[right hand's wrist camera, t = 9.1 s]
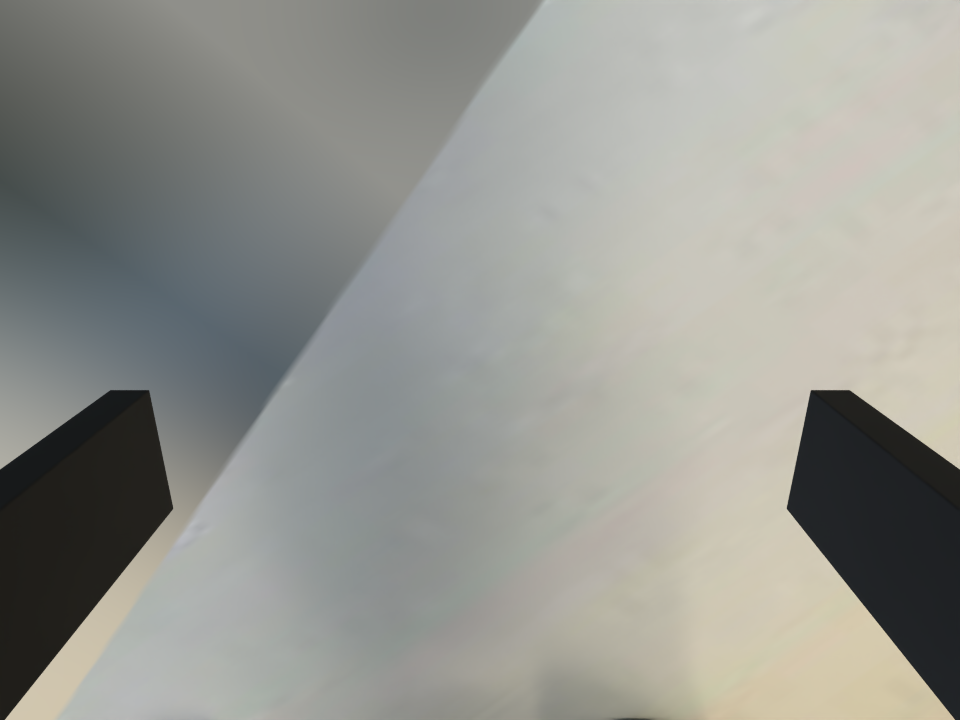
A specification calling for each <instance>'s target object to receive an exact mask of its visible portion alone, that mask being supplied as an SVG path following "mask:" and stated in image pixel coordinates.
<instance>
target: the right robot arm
mask: <svg viewBox="0 0 960 720" xmlns="http://www.w3.org/2000/svg"><path fill="white" fill-rule="evenodd" d="M172 510H173V505H172V500H171V495H170V490H169V485H168V481H167V476H166V471H165V466H164V461H163V456H162V451H161V446H160V441H159V437H158V432H157V427H156V422H155V417H154V412H153V407H152V402H151V397H150V393H149V390H110V391H109V392H107V393H106V394H105V395H103V396H102V397H100V398H99V399H98V400H96V401H95V402H94V403H92V404H91V405H89V406H88V407H87V408H85V409H84V410H82V411H81V412H80V413H78V414H77V415H75V416H74V417H73V418H71V419H70V420H68V421H67V422H66V423H64V424H63V425H62V426H60V427H59V428H57V429H56V430H55V431H53V432H52V433H50V434H49V435H48V436H46V437H45V438H43V439H42V440H41V441H39V442H38V443H37V444H35V445H34V446H32V447H31V448H30V449H28V450H27V451H25V452H24V453H23V454H21V455H20V456H18V457H17V458H16V459H14V460H13V461H11V462H10V463H9V464H7V465H6V466H5V467H3V468H2V469H0V720H5V719H6V718H7V716H8V715H9V714H10V712H11V711H12V710H13V709H14V707H15V706H16V705H17V704H18V702H19V701H20V700H21V699H22V697H23V696H24V695H25V694H26V692H27V691H28V690H29V689H30V687H31V686H32V685H33V684H34V682H35V681H36V680H37V679H38V677H39V676H40V675H41V674H42V672H43V671H44V670H45V669H46V667H47V666H48V665H49V664H50V662H51V661H52V660H53V659H54V657H55V656H56V655H57V654H58V652H59V651H60V650H61V649H62V647H63V646H64V645H65V644H66V642H67V641H68V640H69V639H70V637H71V636H72V635H73V634H74V632H75V631H76V630H77V629H78V627H79V626H80V625H81V624H82V622H83V621H84V620H85V619H86V617H87V616H88V615H89V614H90V612H91V611H92V610H93V608H94V607H95V606H96V605H97V604H98V602H99V601H100V600H101V599H102V597H103V596H104V595H105V593H106V592H107V591H108V590H109V588H110V587H111V586H112V585H113V583H114V582H115V581H116V580H117V578H118V577H119V576H120V575H121V573H122V572H123V571H124V570H125V568H126V567H127V566H128V565H129V563H130V562H131V561H132V560H133V558H134V557H135V556H136V555H137V553H138V552H139V551H140V550H141V548H142V547H143V546H144V545H145V543H146V542H147V541H148V540H149V538H150V537H151V536H152V534H153V533H154V532H155V531H156V530H157V528H158V527H159V526H160V524H161V523H162V522H163V521H164V520H165V518H166V517H167V516H168V515H169V513H170V512H171V511H172ZM787 510H788V511H789V512H790V513H791V515H792V516H793V517H794V518H795V520H796V521H797V522H798V523H799V525H800V526H801V527H802V528H803V530H804V531H805V532H806V533H807V535H808V536H809V537H810V538H811V540H812V541H813V542H814V543H815V545H816V546H817V547H818V548H819V550H820V551H821V552H822V553H823V555H824V556H825V557H826V558H827V560H828V561H829V562H830V563H831V565H832V566H833V567H834V568H835V570H836V571H837V572H838V573H839V575H840V576H841V577H842V578H843V580H844V581H845V582H846V583H847V585H848V586H849V587H850V589H851V590H852V591H853V592H854V594H855V595H856V596H857V597H858V599H859V600H860V601H861V602H862V604H863V605H864V606H865V607H866V609H867V610H868V611H869V612H870V614H871V615H872V616H873V617H874V619H875V620H876V621H877V622H878V624H879V625H880V626H881V627H882V629H883V630H884V631H885V632H886V634H887V635H888V636H889V637H890V639H891V640H892V641H893V642H894V644H895V645H896V646H897V647H898V649H899V650H900V651H901V652H902V654H903V655H904V656H905V657H906V659H907V660H908V661H909V662H910V664H911V665H912V666H913V667H914V669H915V670H916V671H917V672H918V674H919V675H920V676H921V677H922V679H923V680H924V681H925V682H926V684H927V685H928V686H929V687H930V689H931V690H932V691H933V692H934V694H935V695H936V696H937V697H938V699H939V700H940V701H941V702H942V704H943V705H944V706H945V708H946V709H947V710H948V711H949V713H950V714H951V715H952V716H953V718H954V719H955V720H960V469H958V468H957V467H955V466H954V465H953V464H951V463H950V462H949V461H947V460H946V459H944V458H943V457H942V456H940V455H939V454H937V453H936V452H935V451H933V450H932V449H930V448H929V447H928V446H926V445H925V444H923V443H922V442H921V441H919V440H918V439H917V438H915V437H914V436H912V435H911V434H910V433H908V432H907V431H905V430H904V429H903V428H901V427H900V426H898V425H897V424H896V423H894V422H893V421H892V420H890V419H889V418H887V417H886V416H885V415H883V414H882V413H880V412H879V411H878V410H876V409H875V408H873V407H872V406H871V405H869V404H868V403H867V402H865V401H864V400H862V399H861V398H860V397H858V396H857V395H855V394H854V393H853V392H851V391H850V390H811V393H810V397H809V402H808V407H807V412H806V417H805V422H804V427H803V432H802V437H801V441H800V446H799V451H798V456H797V461H796V466H795V471H794V476H793V481H792V485H791V490H790V495H789V500H788V505H787Z"/></svg>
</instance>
